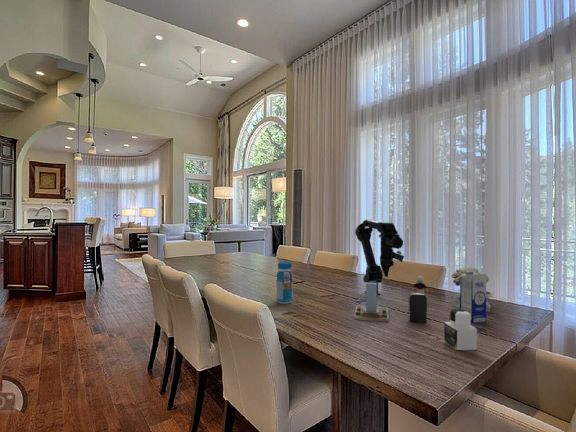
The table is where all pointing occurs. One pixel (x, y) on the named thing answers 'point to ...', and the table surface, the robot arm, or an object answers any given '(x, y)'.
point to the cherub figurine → (457, 281)
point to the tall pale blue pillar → (371, 297)
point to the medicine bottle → (460, 331)
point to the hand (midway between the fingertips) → (386, 276)
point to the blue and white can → (284, 283)
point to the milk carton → (473, 296)
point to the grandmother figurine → (419, 285)
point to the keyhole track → (371, 314)
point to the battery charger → (417, 307)
